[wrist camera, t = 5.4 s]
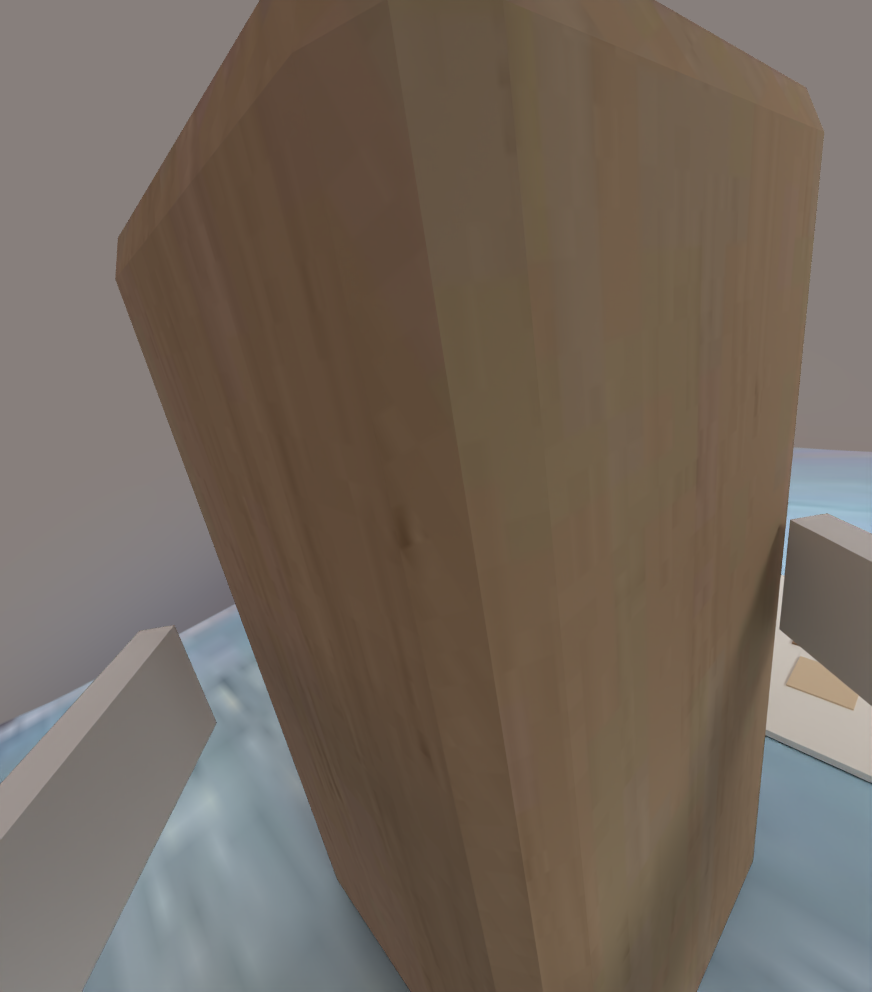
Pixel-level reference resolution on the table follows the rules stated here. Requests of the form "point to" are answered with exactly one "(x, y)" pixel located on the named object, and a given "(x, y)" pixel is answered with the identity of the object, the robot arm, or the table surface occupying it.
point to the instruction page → (817, 709)
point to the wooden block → (498, 454)
